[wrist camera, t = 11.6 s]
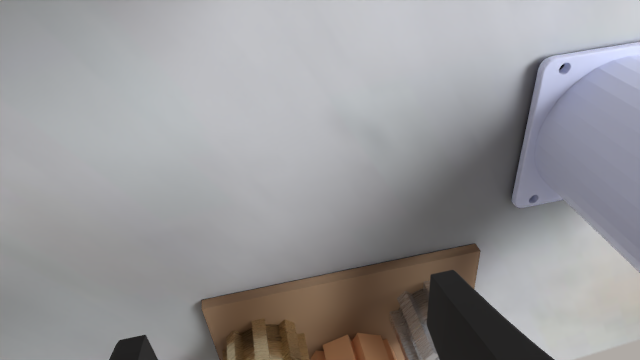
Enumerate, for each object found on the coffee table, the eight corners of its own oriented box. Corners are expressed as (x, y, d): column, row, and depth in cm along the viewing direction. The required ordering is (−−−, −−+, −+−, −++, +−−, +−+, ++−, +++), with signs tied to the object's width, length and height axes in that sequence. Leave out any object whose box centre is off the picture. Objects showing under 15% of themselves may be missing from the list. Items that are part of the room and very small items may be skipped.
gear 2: (468, 272, 26) (509, 336, 22) (460, 323, 28) (495, 388, 25) (389, 288, 25) (418, 357, 22) (389, 339, 28) (414, 407, 24)
